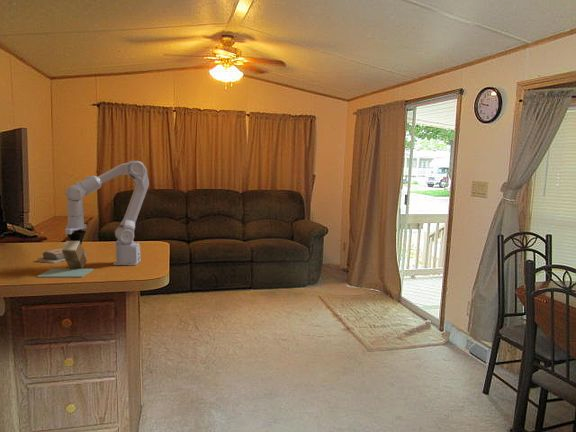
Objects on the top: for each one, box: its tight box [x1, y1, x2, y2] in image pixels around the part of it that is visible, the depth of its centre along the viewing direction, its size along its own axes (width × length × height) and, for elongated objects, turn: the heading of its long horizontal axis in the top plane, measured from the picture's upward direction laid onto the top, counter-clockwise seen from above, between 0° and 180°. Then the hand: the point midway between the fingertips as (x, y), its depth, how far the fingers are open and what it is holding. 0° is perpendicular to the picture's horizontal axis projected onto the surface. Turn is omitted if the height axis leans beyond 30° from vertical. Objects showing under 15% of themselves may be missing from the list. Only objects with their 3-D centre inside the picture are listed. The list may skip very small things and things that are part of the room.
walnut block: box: [61, 240, 87, 269], centre depth 161 cm, size 5×5×11 cm
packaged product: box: [36, 246, 89, 264], centre depth 181 cm, size 18×5×10 cm
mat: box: [36, 268, 94, 279], centre depth 156 cm, size 16×11×1 cm
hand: (77, 249), depth 163 cm, fingers closed
